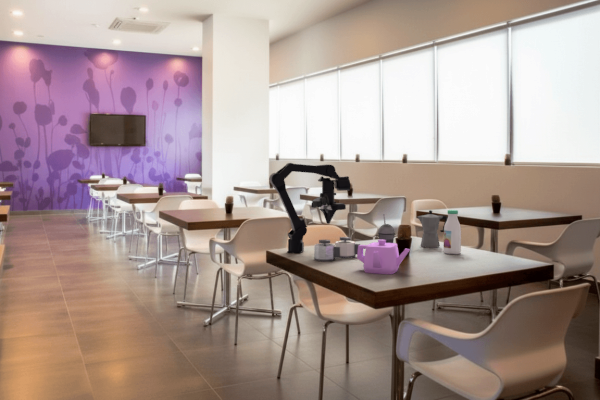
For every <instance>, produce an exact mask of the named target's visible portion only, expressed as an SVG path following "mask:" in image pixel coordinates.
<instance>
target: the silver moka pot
mask: <svg viewBox="0 0 600 400" xmlns="http://www.w3.org/2000/svg"><path fill="white" fill-rule="evenodd" d="M313 246H314V248H313V249H314V253H313V256H314V257H313V260H314V261H316V262H334V261H335V260H336V259H341V258H340V247H335V244H334V243H326V245H323V243H316V244H314V245H313Z"/></svg>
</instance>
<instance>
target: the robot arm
mask: <svg viewBox="0 0 600 400" xmlns="http://www.w3.org/2000/svg"><path fill="white" fill-rule="evenodd" d="M292 172H296V173H308V174H316V175H320V177H319V179H317V181H318V182H321V185H322V186H321V188H322V189H321V190H322V191H321V192H320V194H319V196H318V197H316V198H314V199H313V200H311V208H313V209H315V208H319V211H321V213H322V214H323V216H324V219H325V221H326V225H329V224H330V223H331V222H332V219H333V217H334V215H335V213H336V212H337V211H341V210H346V208H347V207H346V204H345V203H342V202H337V201H335V196H337V193H336V192H335V189H336V191H338V192H340V191H343V192H344V191H345V192H346V191H350V190H351V186H352V185H351V181H350V180H351V179H350V176H346V175H345V176H340V175H339V174H338V172H336V167H335V166H334V165H332V164H328V163H327V164H318V165H311V164H301V163H299V164H298V163H292V162H287V163H286V164H285V165H284V166H283V167H281V168H280V169H279V170H277V172H273V173H271V174H270V175H269V179H268V180H269V182H270V185H271V186H272V188H274V190H275V191H276V193H277V194H278V196H279V198H280V200H281V203H282V204H283V207H284V209H285V211H286V213H287V216H288V218H289V221H290V228H291V229H290V230H289V232H288V233H287V237H288V239H287V240H288V242H287V247H288V248H287V249H288V251H286V253H291V254H301V253H303V252H305V251H304V250H305V246H304V245H305V244H304V243H305V242H304V236H306V234H307V231H308V226H307V224H306V222H305V219H304V218H303V217H299V216H298V213H297V211H296V208H295V207H294V204H293V201H292V200H291V197H290V195H289V193H288V191H287V189H286V188H287V187H286V181H285V179H286V178H288V176H289V175H290V174H291V173H292Z"/></svg>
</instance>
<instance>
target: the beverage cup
mask: <svg viewBox="0 0 600 400" xmlns="http://www.w3.org/2000/svg"><path fill="white" fill-rule="evenodd" d="M382 216H383V224H382V225H381V226H380V227H379V229H378V233H377V234H378V238H379V239H378V240H380V239H383V240H386V242H385V243H394V239H395V235H396V233H395V229H394V227H393V226H392V225H391V224H389V223H386V217H385V213H383V215H382Z"/></svg>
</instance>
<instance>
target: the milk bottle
mask: <svg viewBox="0 0 600 400" xmlns="http://www.w3.org/2000/svg"><path fill="white" fill-rule="evenodd" d="M458 214H459V210H457V209H449V210H447V218H448V219H447V221H446V223H445V222H444V223H445V226H444V225H443V226H444V232H443V253H444V254H447V255H460V254H461V253H462V252H461V251H462V227H461V224H460V221H459V219H458Z"/></svg>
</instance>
